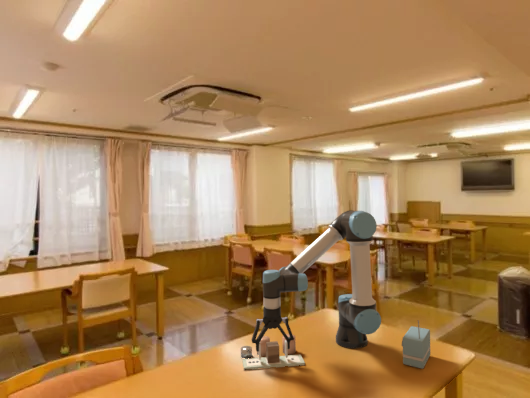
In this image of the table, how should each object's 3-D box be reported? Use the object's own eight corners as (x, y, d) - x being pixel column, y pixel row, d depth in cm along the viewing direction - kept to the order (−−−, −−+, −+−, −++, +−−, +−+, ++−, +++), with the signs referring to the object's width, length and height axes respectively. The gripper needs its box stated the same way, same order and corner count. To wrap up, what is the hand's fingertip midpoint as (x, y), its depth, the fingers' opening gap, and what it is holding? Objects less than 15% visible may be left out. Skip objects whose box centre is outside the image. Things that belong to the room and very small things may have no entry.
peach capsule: (294, 348, 164) (293, 333, 164) (296, 354, 158) (296, 338, 158) (281, 349, 163) (281, 334, 163) (284, 355, 157) (283, 339, 157)
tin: (251, 354, 159) (251, 345, 159) (252, 359, 154) (252, 350, 154) (240, 355, 158) (240, 346, 158) (241, 360, 153) (241, 351, 153)
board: (300, 356, 155) (300, 353, 155) (304, 365, 147) (304, 362, 147) (242, 361, 152) (242, 358, 152) (243, 370, 144) (243, 367, 144)
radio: (409, 351, 158) (408, 307, 158) (430, 356, 153) (429, 311, 153) (400, 365, 145) (399, 317, 145) (423, 371, 140) (422, 321, 140)
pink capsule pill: (269, 350, 162) (268, 335, 162) (270, 356, 156) (270, 340, 156) (256, 351, 162) (256, 336, 162) (257, 357, 156) (257, 341, 156)
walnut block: (279, 362, 147) (279, 345, 148) (268, 363, 147) (267, 346, 147) (277, 357, 152) (277, 341, 152) (266, 358, 152) (266, 342, 152)
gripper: (296, 302, 155) (297, 351, 155) (244, 305, 152) (245, 355, 152) (300, 307, 147) (301, 359, 147) (245, 310, 144) (246, 363, 144)
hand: (273, 357), depth 149 cm, fingers open, 11 cm apart
